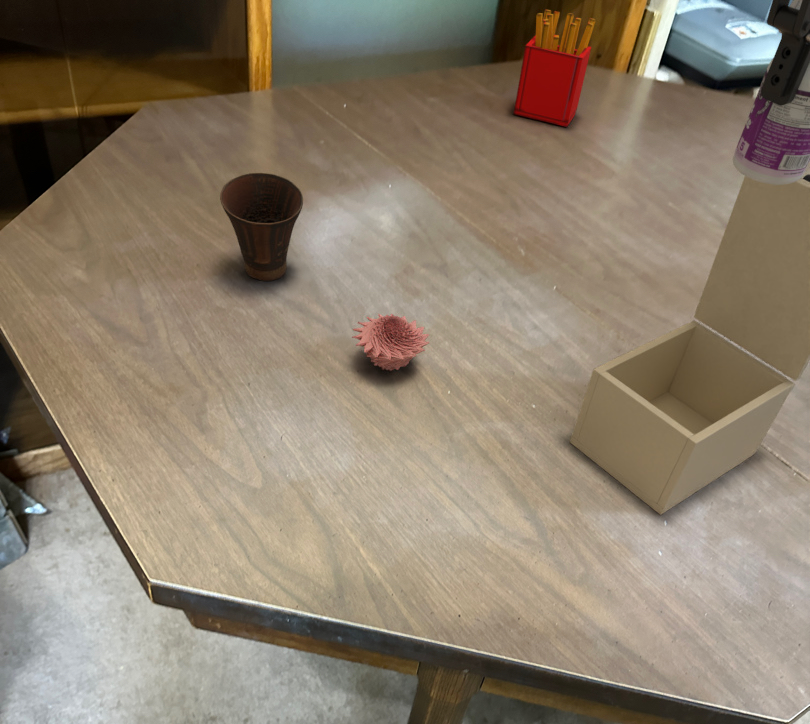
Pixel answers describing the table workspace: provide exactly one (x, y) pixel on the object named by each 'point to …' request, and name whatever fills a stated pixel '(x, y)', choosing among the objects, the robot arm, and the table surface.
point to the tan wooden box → (677, 413)
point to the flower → (391, 341)
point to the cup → (262, 220)
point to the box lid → (764, 276)
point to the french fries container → (553, 70)
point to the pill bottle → (776, 138)
